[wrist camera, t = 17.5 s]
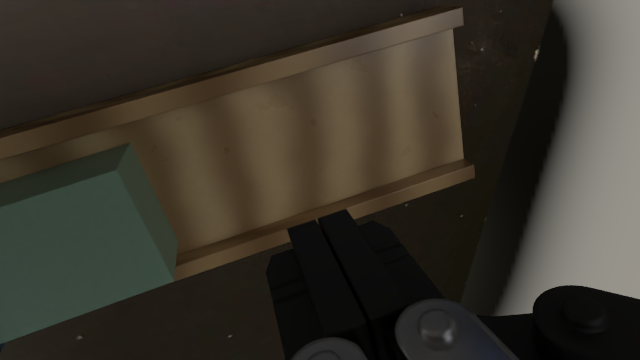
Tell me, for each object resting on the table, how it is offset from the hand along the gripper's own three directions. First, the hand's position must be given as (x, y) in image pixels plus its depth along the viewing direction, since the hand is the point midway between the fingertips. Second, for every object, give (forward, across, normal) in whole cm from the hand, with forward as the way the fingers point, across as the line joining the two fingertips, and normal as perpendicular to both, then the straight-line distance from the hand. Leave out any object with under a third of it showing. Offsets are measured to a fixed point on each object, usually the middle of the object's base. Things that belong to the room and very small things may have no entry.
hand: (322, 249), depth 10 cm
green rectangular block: (+20, +14, +5) cm, 24 cm away
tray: (+21, +3, +5) cm, 22 cm away
